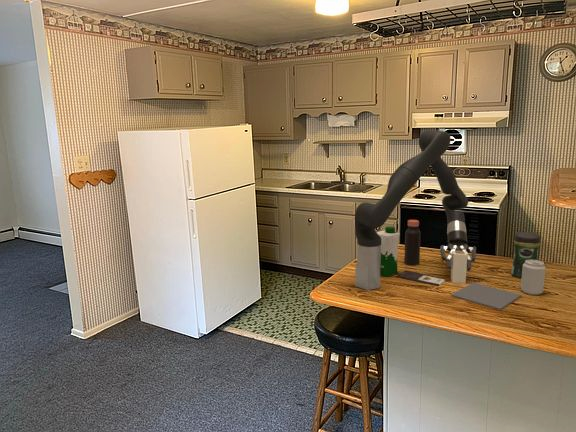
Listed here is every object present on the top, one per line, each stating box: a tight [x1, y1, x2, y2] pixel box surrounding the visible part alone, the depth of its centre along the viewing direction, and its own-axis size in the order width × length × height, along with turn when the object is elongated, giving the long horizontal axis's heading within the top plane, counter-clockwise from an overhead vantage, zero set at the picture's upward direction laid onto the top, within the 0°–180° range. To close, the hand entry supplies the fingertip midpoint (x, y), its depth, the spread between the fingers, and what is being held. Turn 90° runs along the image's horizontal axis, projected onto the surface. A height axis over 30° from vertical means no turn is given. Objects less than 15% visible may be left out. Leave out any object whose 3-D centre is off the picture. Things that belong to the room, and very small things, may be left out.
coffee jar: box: [511, 231, 541, 279], centre depth 181 cm, size 10×8×19 cm
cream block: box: [450, 251, 468, 284], centre depth 177 cm, size 5×5×12 cm
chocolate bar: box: [395, 270, 447, 287], centre depth 182 cm, size 9×1×18 cm
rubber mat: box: [450, 282, 522, 311], centre depth 162 cm, size 18×18×1 cm
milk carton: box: [376, 226, 401, 278], centre depth 187 cm, size 9×9×20 cm
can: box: [520, 259, 546, 296], centre depth 164 cm, size 8×8×12 cm
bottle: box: [403, 219, 422, 266], centre depth 200 cm, size 7×7×20 cm
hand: (459, 269), depth 175 cm, fingers open, 6 cm apart
